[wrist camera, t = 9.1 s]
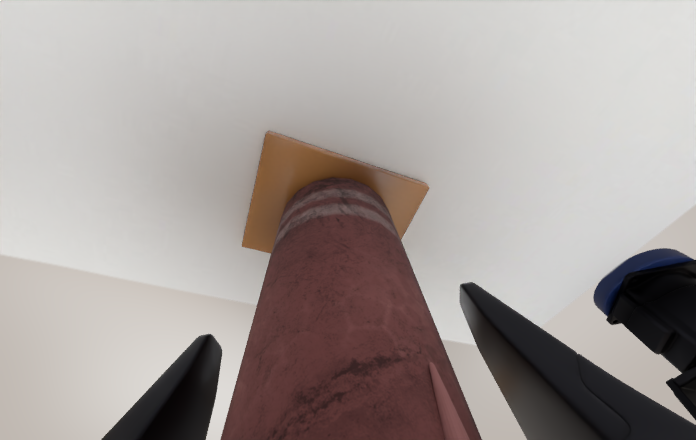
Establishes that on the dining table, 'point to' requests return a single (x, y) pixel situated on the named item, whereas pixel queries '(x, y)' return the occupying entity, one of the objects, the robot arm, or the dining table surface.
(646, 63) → the dining table surface
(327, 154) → the caramel mat
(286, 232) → the can
